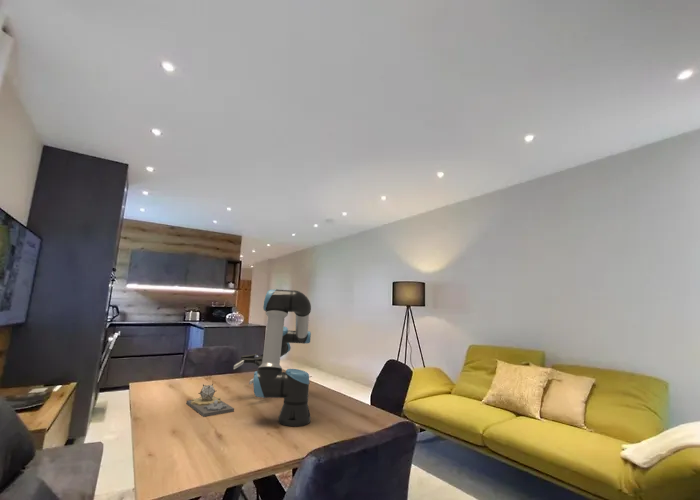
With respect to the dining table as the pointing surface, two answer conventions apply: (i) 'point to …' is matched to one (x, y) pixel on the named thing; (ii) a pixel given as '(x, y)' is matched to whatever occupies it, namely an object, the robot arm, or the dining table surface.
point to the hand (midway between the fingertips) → (241, 375)
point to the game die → (207, 392)
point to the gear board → (209, 406)
